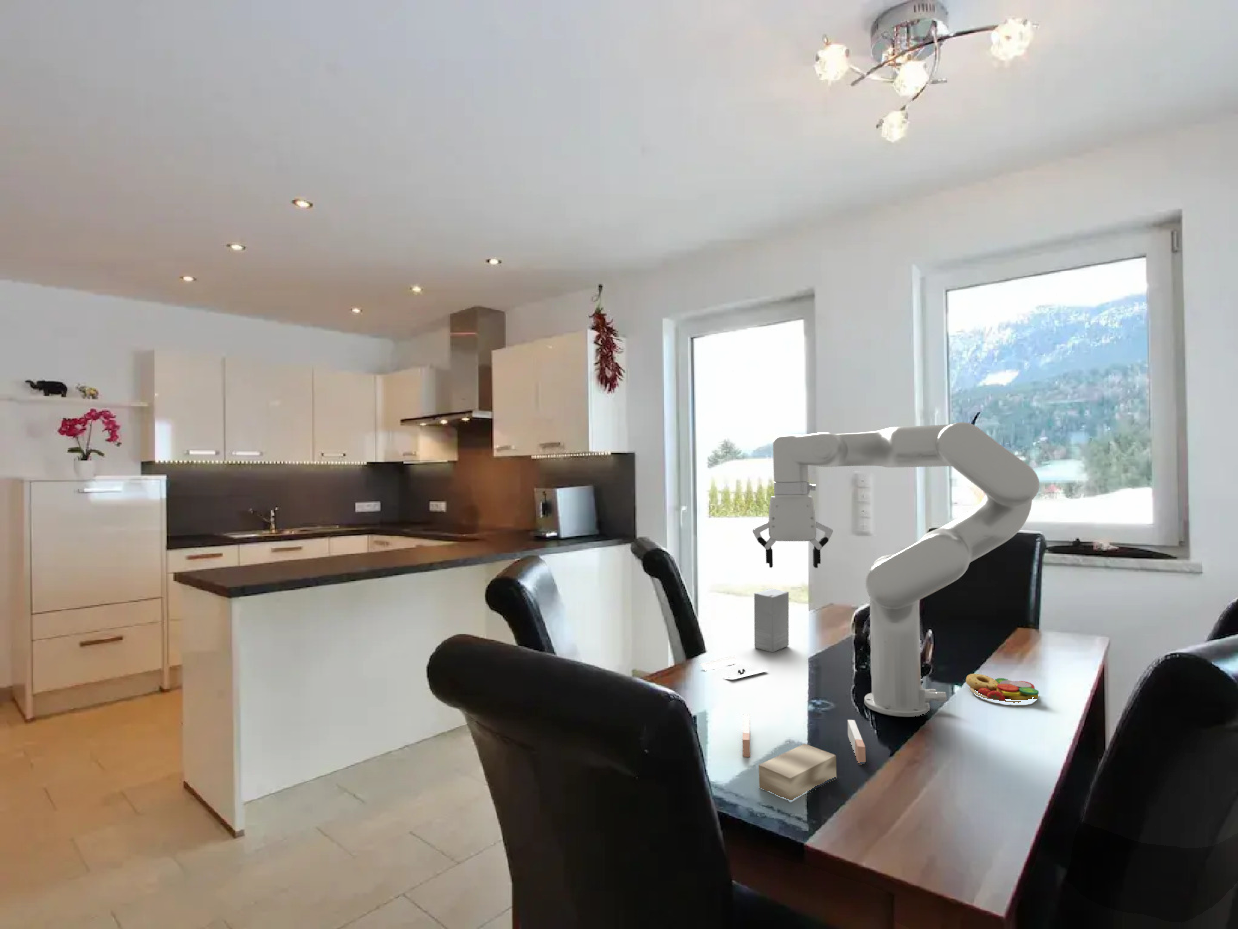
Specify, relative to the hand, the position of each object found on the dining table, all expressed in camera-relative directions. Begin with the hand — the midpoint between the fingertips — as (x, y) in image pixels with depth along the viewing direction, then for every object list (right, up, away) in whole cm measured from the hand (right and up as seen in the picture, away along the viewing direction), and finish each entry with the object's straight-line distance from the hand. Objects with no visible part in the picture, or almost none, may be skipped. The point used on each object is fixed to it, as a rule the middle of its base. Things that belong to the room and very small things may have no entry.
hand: (793, 566), depth 146 cm
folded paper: (-10, -29, +17) cm, 35 cm away
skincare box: (+4, -29, +38) cm, 48 cm away
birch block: (-10, -29, -41) cm, 51 cm away
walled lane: (-6, -28, -27) cm, 40 cm away
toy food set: (+45, -28, -4) cm, 53 cm away
